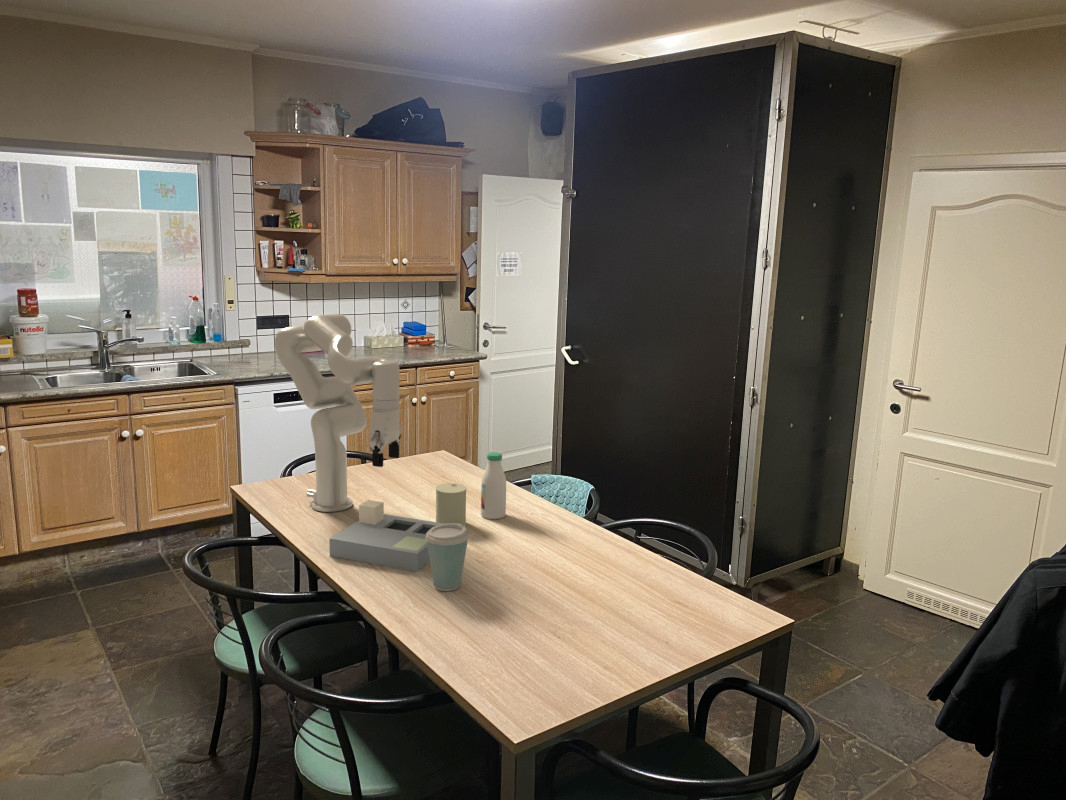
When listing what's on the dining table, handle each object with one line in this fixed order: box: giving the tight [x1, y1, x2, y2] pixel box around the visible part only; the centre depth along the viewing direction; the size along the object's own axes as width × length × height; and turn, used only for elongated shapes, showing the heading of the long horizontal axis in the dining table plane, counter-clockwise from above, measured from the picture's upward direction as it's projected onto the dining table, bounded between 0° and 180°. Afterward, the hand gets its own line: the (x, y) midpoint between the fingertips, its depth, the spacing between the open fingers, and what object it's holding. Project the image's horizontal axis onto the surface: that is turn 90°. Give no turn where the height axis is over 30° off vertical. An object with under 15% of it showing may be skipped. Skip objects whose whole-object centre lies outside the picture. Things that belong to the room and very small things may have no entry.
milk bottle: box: [480, 451, 507, 520], centre depth 240 cm, size 8×8×20 cm
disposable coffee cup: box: [426, 523, 470, 592], centre depth 191 cm, size 11×11×15 cm
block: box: [358, 499, 385, 525], centre depth 220 cm, size 5×5×5 cm
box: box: [328, 513, 444, 572], centre depth 214 cm, size 26×22×5 cm
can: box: [435, 482, 467, 527], centre depth 232 cm, size 9×9×12 cm
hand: (386, 461), depth 225 cm, fingers open, 9 cm apart
